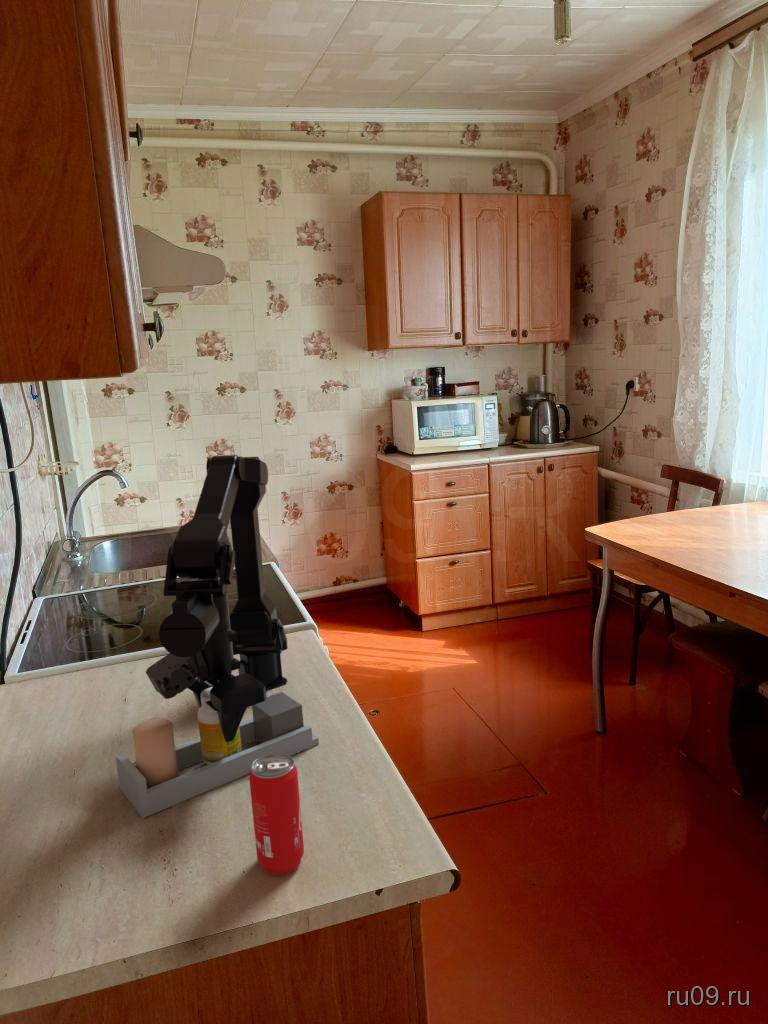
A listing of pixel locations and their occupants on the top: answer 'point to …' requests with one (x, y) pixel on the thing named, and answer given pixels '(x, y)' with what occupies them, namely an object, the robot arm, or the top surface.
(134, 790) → the tray
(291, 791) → the beverage can
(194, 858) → the top surface
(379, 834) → the top surface
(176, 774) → the jar
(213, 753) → the supplement bottle
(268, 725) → the block
